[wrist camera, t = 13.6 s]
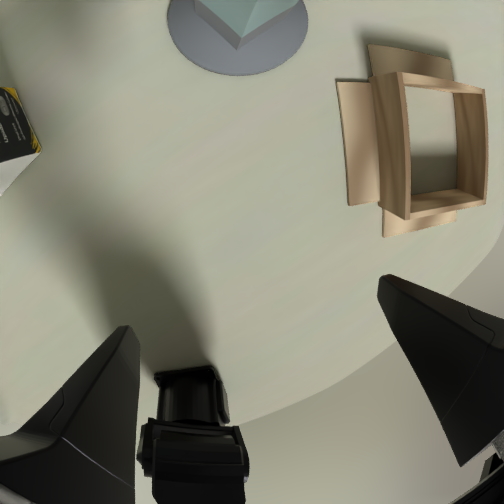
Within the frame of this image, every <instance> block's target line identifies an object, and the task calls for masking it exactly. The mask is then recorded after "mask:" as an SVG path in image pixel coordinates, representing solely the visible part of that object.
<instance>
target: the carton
mask: <svg viewBox="0 0 504 504" xmlns="http://www.w3.org/2000/svg"><path fill="white" fill-rule="evenodd" d="M367 46H368V51H369V56H370V62H371V67H372V73H373V77H368V80H369V83H361V82H336V86H337V92H338V99H339V107H340V114H341V123H342V131H343V141H344V151H345V163H346V176H347V193H348V205H349V206H353V205H359V204H365V203H371V202H377V201H378V206H380V207H382V208H383V234H382V237H384V238H385V237H390V236H394V235H398V234H403V233H407V232H412V231H416V230H420V229H425V228H429V227H433V226H437V225H442V224H446V223H450V222H455V221H456V215H457V210H460V209H465V208H470V207H475V206H479V205H484V204H486V195H487V181H488V122H487V108H486V98H485V89H481V88H478V87H474V86H470V85H466V84H462V83H458V82H454V79H453V73H452V67H451V61H450V60H448V59H445V58H441V57H437V56H433V55H429V54H424V53H420V52H415V51H410V50H405V49H400V48H394V47H387V46H380V45H373V44H368V45H367ZM404 86H410V87H419V88H426V89H433V90H440V91H445V92H451V93H453V95H454V104H455V115H456V130H457V189H451V190H443V191H436V192H429V193H422V194H415V195H411V161H410V139H409V125H408V114H407V104H406V96H405V88H404Z"/></svg>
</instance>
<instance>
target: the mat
mask: <svg viewBox="0 0 504 504" xmlns="http://www.w3.org/2000/svg"><path fill="white" fill-rule="evenodd" d="M168 27H169V32H170V35H171V37H172V39H173V42H174V43H175V45H176V47H177V48H178V50H179V51H180V52H181V53H182V54H183V55H184V56H185V57H186V58H187V59H188V60H190V61H191V62H193V63H194V64H196V65H198V66H199V67H201V68H203V69H206V70H209V71H211V72H215V73H219V74H224V75H232V76H244V75H253V74H259V73H262V72H266V71H268V70H271V69H273V68H275V67H277V66H279V65H281V64H282V63H284V62H285V61H286V60H288V59H289V58H290V57H291V56H293V55H294V54H295V53H296V52H297V50H298V49H299V48H300V46H301V45H302V43H303V41H304V39H305V36H306V34H307V29H308V15H307V10H306V7H305V4H304V2H303V0H299V1H298V2H297V3H296V5H295V6H294V7H293V8H292V10H291V11H290V12H289V13H288V15H287V16H286V17H285V18H284V20H282V21H280V22H279V23H277V24H276V25H274V26H272V27H271V28H269V29H268V30H266V31H265V32H263V33H262V34H260V35H259V36H257V37H256V38H254V39H253V40H251V41H250V42H248V43H247V44H245V45H244V46H243V47H241V48H240V49H238V50H237V51H236V50H235V49H234V48H233V47H232V46H231V45H230V44H229V43H228V42H227V41H226V40H225V39H224V38H223V37H222V36H221V35H220V34H219V33H218V32H217V31H215V30H214V29H213V28H212V27H211V26H210V25H209V24H208V23H207V22H205V21H204V20H203V19H202V18H201V17H200V16H198V15H197V14H196V13H195V3H194V0H172V2H171V5H170V8H169V12H168Z"/></svg>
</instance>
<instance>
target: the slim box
mask: <svg viewBox="0 0 504 504" xmlns="http://www.w3.org/2000/svg"><path fill="white" fill-rule="evenodd" d="M298 1H299V0H194V3H195V13H196V14H197V15H198V16H200V17H201V18H202V19H203V20H204V21H205V22H207V23H208V24H209V25H210V26H211V27H212V28H213V29H214V30H215V31H217V32H218V33H219V34H220V35H221V36H222V37H223V38H224V39H225V40H226V41H227V42H228V43H229V44H230V45H231V46H232V47H233V48H234V49H235V50H236V51H237V50H238V49H240V48H241V47H243V46H244V45H245V44H247V43H248V42H250V41H251V40H253V39H254V38H256V37H257V36H259V35H260V34H262V33H263V32H265V31H266V30H268V29H269V28H271V27H272V26H274V25H276V24H277V23H279V22H280V21H282V20H284V18H285V17H286V16H287V15H288V13H289V12H290V11H291V10H292V8H293V7H294V6H295V5H296V3H297V2H298Z"/></svg>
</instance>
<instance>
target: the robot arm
mask: <svg viewBox="0 0 504 504" xmlns="http://www.w3.org/2000/svg"><path fill="white" fill-rule="evenodd" d="M377 298H378V301H379V303H380V306H381V308H382V310H383V312H384V314H385V316H386V319H387V321H388V323H389V325H390V328H391V330H392V332H393V334H394V336H395V337H396V339H397V341H398V342H399V344H400V346H401V348H402V350H403V351H404V353H405V355H406V357H407V358H408V360H409V362H410V364H411V366H412V368H413V370H414V371H415V373H416V375H417V377H418V379H419V381H420V382H421V385H422V387H423V388H424V390H425V392H426V394H427V396H428V398H429V400H430V402H431V404H432V406H433V408H434V410H435V412H436V415H437V417H438V418H439V421H440V423H441V425H442V428H443V430H444V432H445V434H446V436H447V438H448V441H449V443H450V445H451V448H452V450H453V452H454V455H455V457H456V459H457V462H458V464H459V466H460V467H462V466H464V465H465V464H467V463H468V462H469V461H471V460H472V459H474V458H475V457H476V456H478V455H479V454H480V453H482V452H483V451H484V450H486V449H487V448H488V447H489V446H491V445H492V446H493V447H494V449H495V451H496V453H495V454H493V455H492V456H491V457H490V458H488V459H487V460H486V461H485V464H484V468H483V471H482V475H481V478H480V481H479V483H478V484H477V485H475V486H474V487H473V488H472V489H470V490H468V491H467V492H466V493H464V494H463V495H461V496H460V497H458V498H457V499H455V500H454V501H452V502H451V503H449V504H504V319H502V318H498V317H496V316H493V315H490V314H488V313H485V312H482V311H480V310H477V309H475V308H473V307H470V306H468V305H467V306H466V305H465V304H463V303H461V302H458V301H456V300H453V299H451V298H449V297H446V296H444V295H442V294H439V293H437V292H434V291H432V290H429V289H427V288H424V287H422V286H419V285H417V284H414V283H412V282H409V281H407V280H404V279H402V278H399V277H397V276H394V275H392V274H387V275H383V276H381V277H380V279H379V285H378V292H377ZM208 370H210V371H208ZM154 380H155V381H156V383H157V385H158V387H159V397H158V408H157V419H154V418H150V417H148V423H146V424H145V425H142V426H141V434H140V441H139V446H138V450H137V458H136V459H137V461H139V463H140V464H141V465H142V469H144V476H145V477H152V495H153V497H154V499H155V500H156V502H157V503H158V504H245V502H246V499H245V492H244V483H245V482H247V480H248V477H249V457H248V453H247V450H246V447H245V444H244V441H243V438H242V435H241V432H240V429H239V426H233V427H230V426H225V424H228V423H229V422H230V417H229V409H228V400H227V393H226V391H225V388H224V385H223V383H222V381H221V380H218V379H217V376H216V373H215V371H214V368H213V367H212V366H204V367H197V368H191V369H184V370H177V371H169V372H161V373H155V374H154ZM139 388H140V344H139V341H138V339H137V337H136V335H135V333H134V332H133V330H132V328H131V327H130V326H129V325H125V326H119V327H118V328H117V329H116V330H115V331H114V332H113V333H112V334H111V335H110V336H109V337H108V338H107V339H106V340H105V341H104V342H103V343H102V344H101V345H100V346H99V347H98V348H97V349H96V350H95V352H94V353H93V354H92V355H91V356H90V357H89V358H88V359H87V360H86V361H85V362H84V363H83V364H82V365H81V366H80V367H79V368H78V369H77V371H76V372H75V373H74V374H73V375H72V376H71V377H70V378H69V379H68V380H67V381H66V382H65V383H64V385H63V386H62V387H61V388H60V389H59V390H58V391H57V392H56V393H55V394H54V395H53V396H52V398H51V399H50V400H49V401H48V402H47V403H46V404H45V405H44V406H43V407H42V408H41V409H40V410H39V411H38V412H36V413H35V414H34V415H33V416H32V417H31V418H30V419H29V420H28V421H27V422H26V423H25V424H24V425H23V426H22V427H21V428H20V429H19V430H17V431H16V432H14V433H12V434H10V435H7V436H0V504H135V489H134V488H135V445H136V426H137V411H138V399H139Z"/></svg>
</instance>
